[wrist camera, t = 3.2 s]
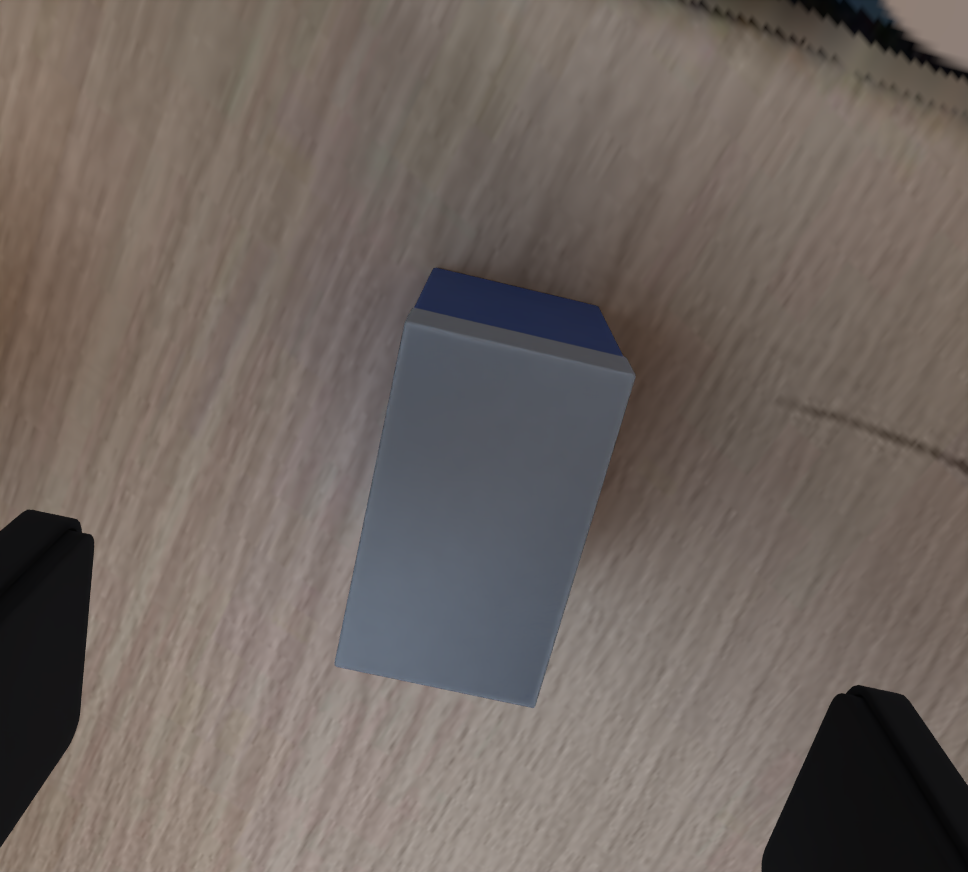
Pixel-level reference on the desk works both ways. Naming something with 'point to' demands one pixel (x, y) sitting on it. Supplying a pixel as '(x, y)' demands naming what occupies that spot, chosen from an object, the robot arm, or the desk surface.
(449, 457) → the grey and blue block
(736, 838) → the desk surface
